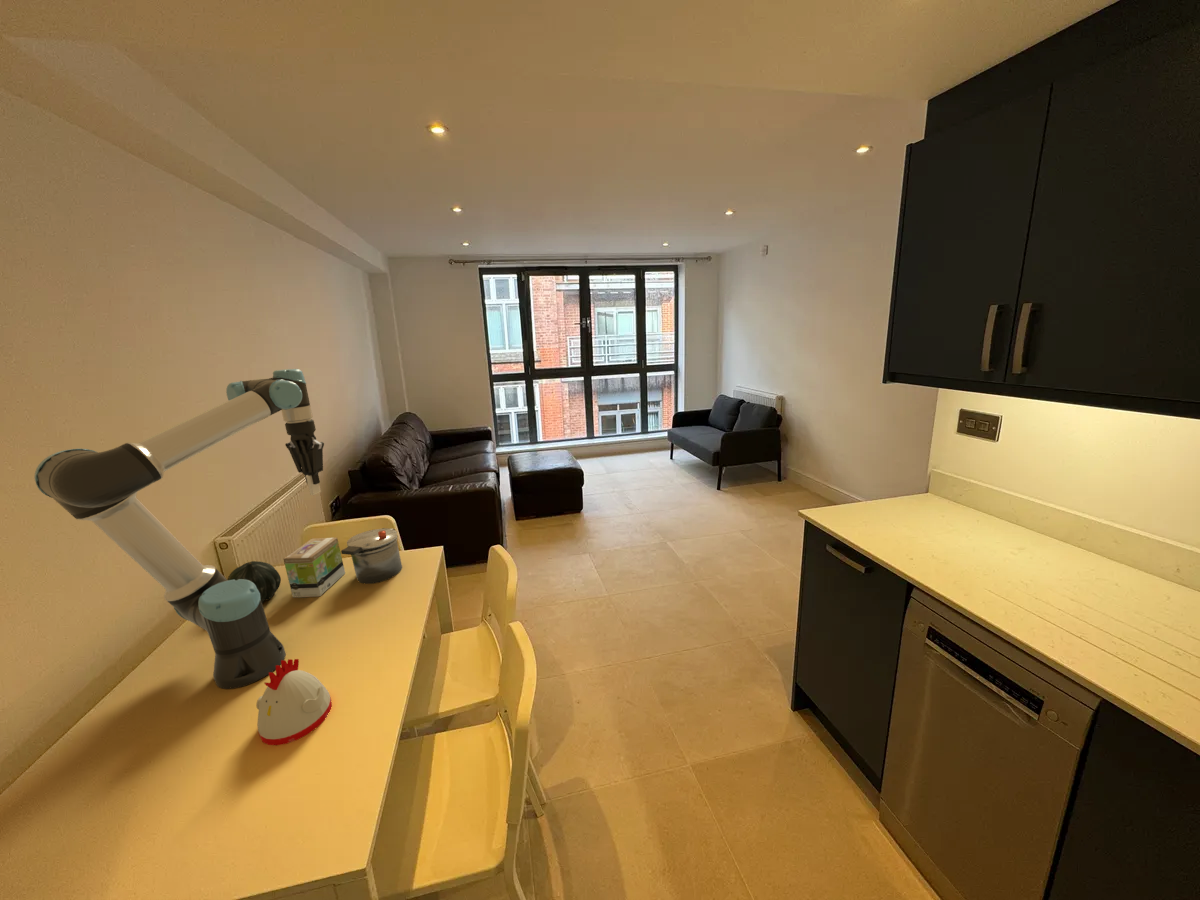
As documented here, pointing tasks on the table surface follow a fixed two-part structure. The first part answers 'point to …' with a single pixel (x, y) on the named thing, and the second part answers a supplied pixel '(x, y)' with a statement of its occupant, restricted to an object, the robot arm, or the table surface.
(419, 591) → the table surface
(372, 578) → the pot
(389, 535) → the lid
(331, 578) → the tea box
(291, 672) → the kitchen timer
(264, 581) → the squash
